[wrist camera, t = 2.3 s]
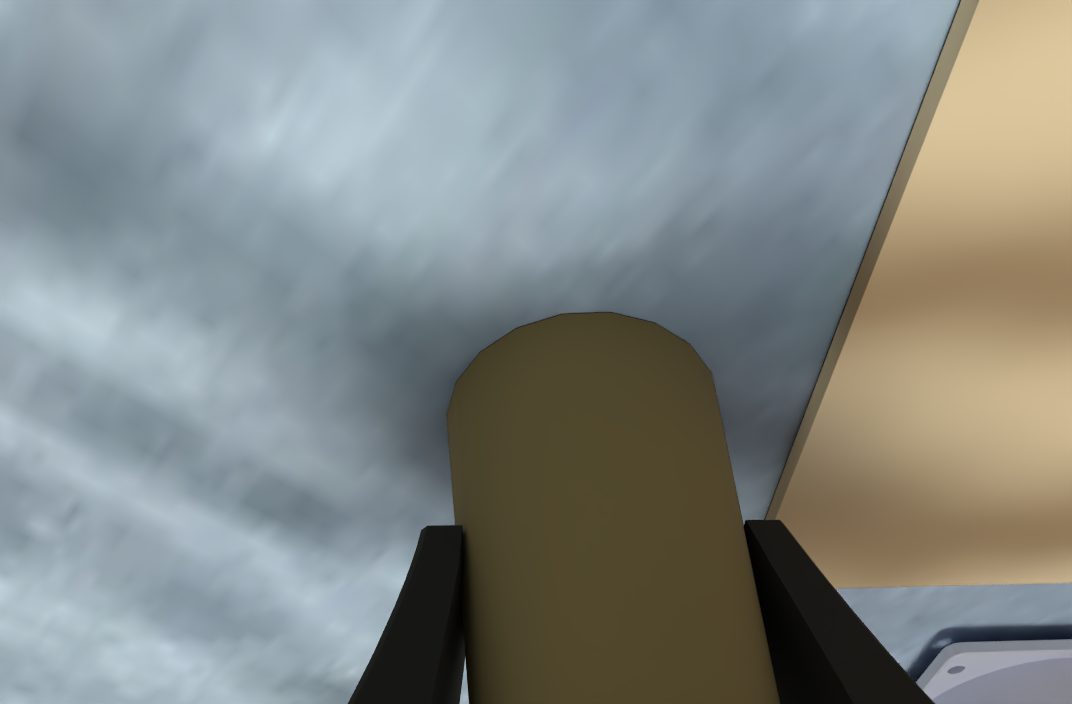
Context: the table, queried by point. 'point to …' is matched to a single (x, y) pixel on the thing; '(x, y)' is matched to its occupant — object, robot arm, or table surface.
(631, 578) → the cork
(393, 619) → the robot arm
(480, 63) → the table surface
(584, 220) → the table surface
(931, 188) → the mat
